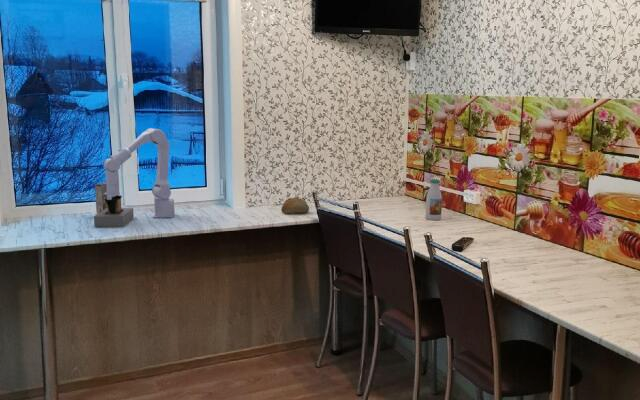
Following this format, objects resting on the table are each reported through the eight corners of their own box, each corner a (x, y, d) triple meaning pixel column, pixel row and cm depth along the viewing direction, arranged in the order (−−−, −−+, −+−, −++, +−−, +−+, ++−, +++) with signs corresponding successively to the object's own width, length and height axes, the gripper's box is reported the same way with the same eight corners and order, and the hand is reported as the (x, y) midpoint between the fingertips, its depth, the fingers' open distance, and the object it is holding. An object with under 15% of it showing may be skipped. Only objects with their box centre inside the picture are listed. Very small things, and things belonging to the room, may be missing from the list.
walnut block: (121, 217, 281) (121, 199, 279) (119, 219, 276) (118, 201, 275) (111, 217, 281) (110, 199, 279) (108, 219, 276) (107, 200, 274)
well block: (133, 217, 289) (133, 207, 288) (123, 226, 269) (122, 216, 269) (106, 217, 288) (106, 208, 287) (94, 227, 268) (93, 216, 268)
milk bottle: (423, 219, 291) (425, 180, 287) (428, 216, 297) (429, 178, 294) (438, 221, 287) (440, 181, 283) (442, 218, 294) (444, 179, 290)
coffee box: (112, 212, 300) (110, 182, 297) (119, 214, 297) (117, 183, 294) (96, 215, 293) (94, 184, 290) (103, 217, 289) (101, 185, 286)
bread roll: (278, 212, 305) (278, 197, 304) (305, 210, 311) (305, 195, 309) (284, 216, 297) (284, 200, 295) (311, 214, 302) (311, 198, 301)
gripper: (108, 181, 282) (109, 209, 285) (99, 186, 268) (101, 215, 270) (123, 181, 283) (124, 208, 285) (115, 186, 269) (116, 215, 271)
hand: (114, 211), depth 278 cm, fingers closed on walnut block, 5 cm apart
